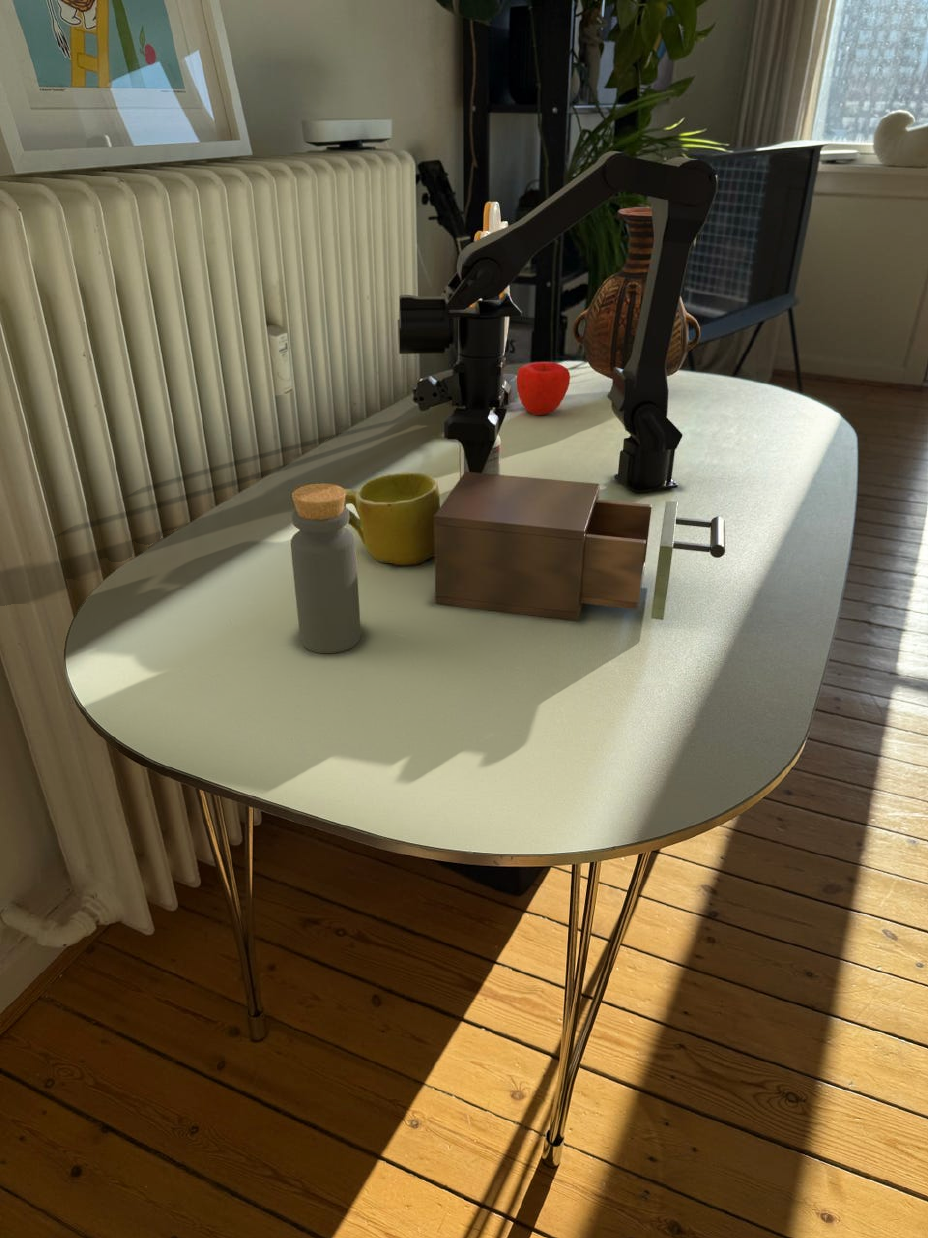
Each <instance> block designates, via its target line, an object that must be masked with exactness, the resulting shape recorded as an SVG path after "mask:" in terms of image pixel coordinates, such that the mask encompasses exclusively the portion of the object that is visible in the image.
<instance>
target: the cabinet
mask: <svg viewBox="0 0 928 1238" xmlns="http://www.w3.org/2000/svg"><path fill="white" fill-rule="evenodd" d="M600 487H601V485H600V483H593V482H585V481H584V482H583V481H574V480H573V481H572V480H563V479H562V480H561V479H551V478H540V477H539V478H538V477H529V476H517V475H507V474H500V475H497V474H486V473H475V472H465V473H464V474H463V476H462V477H461V478H460V477H459V480H458V481H457V483H456V484H455V486H454V487H453V488H452V490H451V491H450V493H449V494H448V496H447V497H446V498H445V500H444V501H443V503H442V504H441V505H440V508H439V510H438V511H437V513H436V514H435V516H434V540H435V556H434V589H435V590H434V591H435V592H434V603H435V604H437V605H445V606H453V607H461V608H468V609H469V608H470V609H477V610H485V611H493V612H494V611H495V612H502V613H508V614H509V613H510V614H516V615H517V614H518V615H525V616H527V615H528V616H534V617H543V618H550V619H558V620H567V621H574V622H575V621H576V622H578V621H579V618H580V614H581V610H582V606H583V603H580V594H581V581H582V569H583V556H584V543H585V535H586V531H587V528H588V525H589V522H590V519H591V516H592V512H593V509H594V506H595V503H596V500H597V499H599V500H600V498H599V497H600V493H599V492H600Z"/></svg>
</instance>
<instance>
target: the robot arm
mask: <svg viewBox="0 0 928 1238" xmlns="http://www.w3.org/2000/svg"><path fill="white" fill-rule="evenodd" d="M718 185H719V179H718V175H717V174H716V172H715V170H714V169H713V167H712V166H711V165H710V164H709V163H707V161H704V160H700V159H697V158H692V157H691V158H689V157H685V156H677V157H672V158H671V159H668V160H666V161H664V163H662V162H657V161H653V160H648V159H644V158H639V157H634V156H631V155H630V154H628V153H625V152H622V151H616V150H612V151H607V152H605V153H603V154H601V156H600V157H599V158H598V160H597V161H595V163H593V164H592V165H591V166H589V167H588V168H586V169H585V170H584V171H583V172H582V173H580V174H579V175H578V176H576V177H575V178H574V179H573V180H571V181H570V182H568V183H567V184H565V185H564V186H563V187H561V188H560V189H559V190H558V191H556V192H554V194H552V195H551V196H550V197H549V198H547V199H546V200H543V202H542V203H541V204H539V205H538V206H536V207H535V208H534V209H532V210H531V211H530V212H528V213H527V214H526V215H525V216H523V217H522V218H521V219H519V220H518V221H515V222H514V223H512V224H510V225H508V227H506V228H503V229H501V230H498V231H495V232H493V233H491V234H489V235H487V236H485V237H483V238H481V239H479V240H477V241H475V242H474V241H473V242H471V243H469V244H468V245H466V246H465V247H464V248H463V249H462V250H461V251H460V253H459V255H458V257H457V263H456V272H455V273H454V275H453V276H452V278H451V279H450V281H449V282H448V283H447V285H446V286H445V287H444V289H443V290H442V292H441V294H440V296H439V295H437V296H436V295H435V296H433V295H432V296H428V295H427V296H423V295H421V296H420V295H419V296H418V295H412V294H400V295H399V296H398V302H399V303H398V304H399V305H398V307H399V309H398V319H397V339H398V341H397V342H398V354H399V355H413V354H414V355H417V354H418V355H419V354H420V355H421V354H427V355H428V354H430V355H431V354H445V353H446V349H450V346H453V345H454V342H455V341H454V340H455V318H457V319H458V320H457V321H458V322H457V323H458V324H457V360H456V362H455V364H453V365H452V369H448V370H447V369H446V370H444V371H441V372H438V373H435V374H432V375H428V376H425V377H422V378H419V379H418V380H416V381H415V383H414V384H413V385H412V387H411V390H412V393H413V397H412V401H413V402H414V403H415V404H417V406H418V409H419V412H426V411H429V410H430V409H431V408H434V407H437V406H441V405H444V404H446V403H449V402H451V407H456V408H455V409H453V410H452V411H451V412H450V413H449V414H448V416H446V418H445V420H444V422H443V438H444V439H446V440H452V441H458V442H460V443H461V444H462V446H463V450H464V453H465V457H466V461H467V465H468V469H469V472H475V473H482V472H483V469H484V467H485V465H486V462H487V460H488V457H489V455H490V453H491V450H492V448H493V445H494V443H495V441H496V438H497V436H498V435H499V434H500V430H501V428H502V426H503V422H504V420H505V418H506V415H507V412H508V408H506V407H505V408H500V406H501V404H502V401H503V400H504V405H507V406H509V405H510V404H511V402H512V401H511V386H510V385H509V384H508V383H507V382H506V380H503V373H504V369H505V367H506V359H507V358H506V357H505V356H504V355H505V352H504V330H505V317H509V318H519V317H521V316H522V310H521V309H520V307H519V306H518V305H517V304H515V303H514V302H513V300H512V297H511V295H510V296H509V295H508V294H507V293H505V294H504V295H503V296H502V297H501V298H500V297H499V298H498V299H495V298H496V297H498V296H500V294H501V293H502V292H503V291H504V290H505V289H506V288H507V287H508V286H509V287H510V285H511V284H512V283H513V282H514V281H515V280H516V279H517V277H519V275H520V274H521V273H522V272H523V270H524V269H525V268H526V266H527V265H528V264H529V263H530V261H531V260H532V259H533V258H534V257H535V256H536V255H537V254H538V253H539V252H540V251H541V250H543V249H544V248H545V247H546V246H548V245H549V244H551V243H553V241H555V240H556V239H558V238H559V237H560V236H562V235H563V234H564V233H565V232H567V231H568V230H569V229H571V228H572V227H573V226H575V225H576V224H578V223H580V222H581V221H582V220H584V219H585V218H587V216H588V215H590V214H591V213H593V212H594V211H595V210H597V209H598V208H599V207H601V206H602V205H603V204H605V203H606V202H608V201H609V200H610V199H611V198H613V197H614V196H616V195H617V194H619V193H621V192H626V193H631V194H635V195H640V196H644V197H649V198H651V207H652V220H653V229H654V245H653V250H652V255H651V260H650V265H649V270H648V275H647V280H646V285H645V290H644V296H643V301H642V306H641V311H640V316H639V321H638V326H637V331H636V336H635V341H634V346H633V352H632V355H631V358H630V360H629V361H628V363H627V365H626V366H625V368H624V370H622V369H619V368H614V369H613V380H612V383H611V387H610V390H609V392H608V394H607V396H606V397H607V398H608V399H609V401H610V402H611V404H610V406H611V410H612V412H613V414H614V415H615V417H616V418H617V420H619V422H620V423H621V425H623V427H624V430H625V431H626V432H627V433H628V434H629V435H630V436H628V437H625V438H623V445H622V449H621V450H620V451H619V456H618V457H619V458H618V467H617V473H616V474H614V475H613V479H614V480H616V481H617V482H618V483H620V484H622V485H623V486H624V487H626V488H627V489H628V490H630V491H632V492H633V493H635V494H647V493H651V492H657V491H665V490H671V489H677V488H678V485H679V484H678V483H677V482H676V481H674V480H672V478H673V471H674V462H675V454H676V450H677V448H678V447H679V444H680V442H681V440H682V439H683V433H682V432H681V431H680V430H679V428H678V427H677V426H675V424H674V423H673V422H672V421H671V420H670V419H669V418H668V407H669V385H668V383H669V382H668V376H667V374H666V361H667V356H668V351H669V347H670V342H671V338H672V333H673V328H674V324H675V319H676V314H677V310H678V305H679V300H680V296H681V297H682V291H683V285H684V281H685V276H686V272H687V268H688V262H689V259H690V254H691V249H692V247H693V245H694V242H695V241H696V239H697V237H698V235H699V233H701V231H702V229H703V227H704V225H705V223H706V222H707V219H708V217H709V214H710V212H711V209H712V206H713V204H714V201H715V198H716V195H717V193H718ZM479 299H482V300H479ZM475 302H476V304H475V307H470V305H472V304H473V303H475ZM510 401H511V402H510ZM461 407H462V408H461Z"/></svg>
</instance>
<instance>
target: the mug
mask: <svg viewBox="0 0 928 1238" xmlns="http://www.w3.org/2000/svg"><path fill="white" fill-rule="evenodd" d="M343 489H344V490H345V492H346V495H345V502H344V506H346V507H347V505H350V504H351V505H353V507H354V509H355V511H356V514H357V516H358V517H357V516H356V514H355V513H354V512H353V511H351V510H350V509H348V510H349V516H350V518H349V523H348V524H347V525H349V526H351V527H352V528H353V529H354V530H355V531H356V532H357V534H358V536H359V539H360V540H361V542H362V543H363V546H364V547H365V548H366V550H367V552H368V553H369V554H370V556H371V557H372V558H373V559H374V560H376V561H379V562H381V563H386V564H389V563H391V564H393V565H394V566H405V567H407V566H414V565H418V564H421V563H424V562H426V561H427V560H429V559H430V558H433V557H435V540H434V516H435V514H436V513H437V511H438V510H439V508H440V507H441V502H440V501H441V500H440V490H439V484H438V482H437V480H436V478H434V477H433V476H430V475H427V474H424V473H415V472H414V473H413V472H400V473H393V474H392V473H391V474H385V475H384V474H383V475H381V476H377V477H375V478H372V479H370V480H367V481H366V482H365V483H364V484H362V486H360V488H359V490H354V489H351V488H343Z"/></svg>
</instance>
